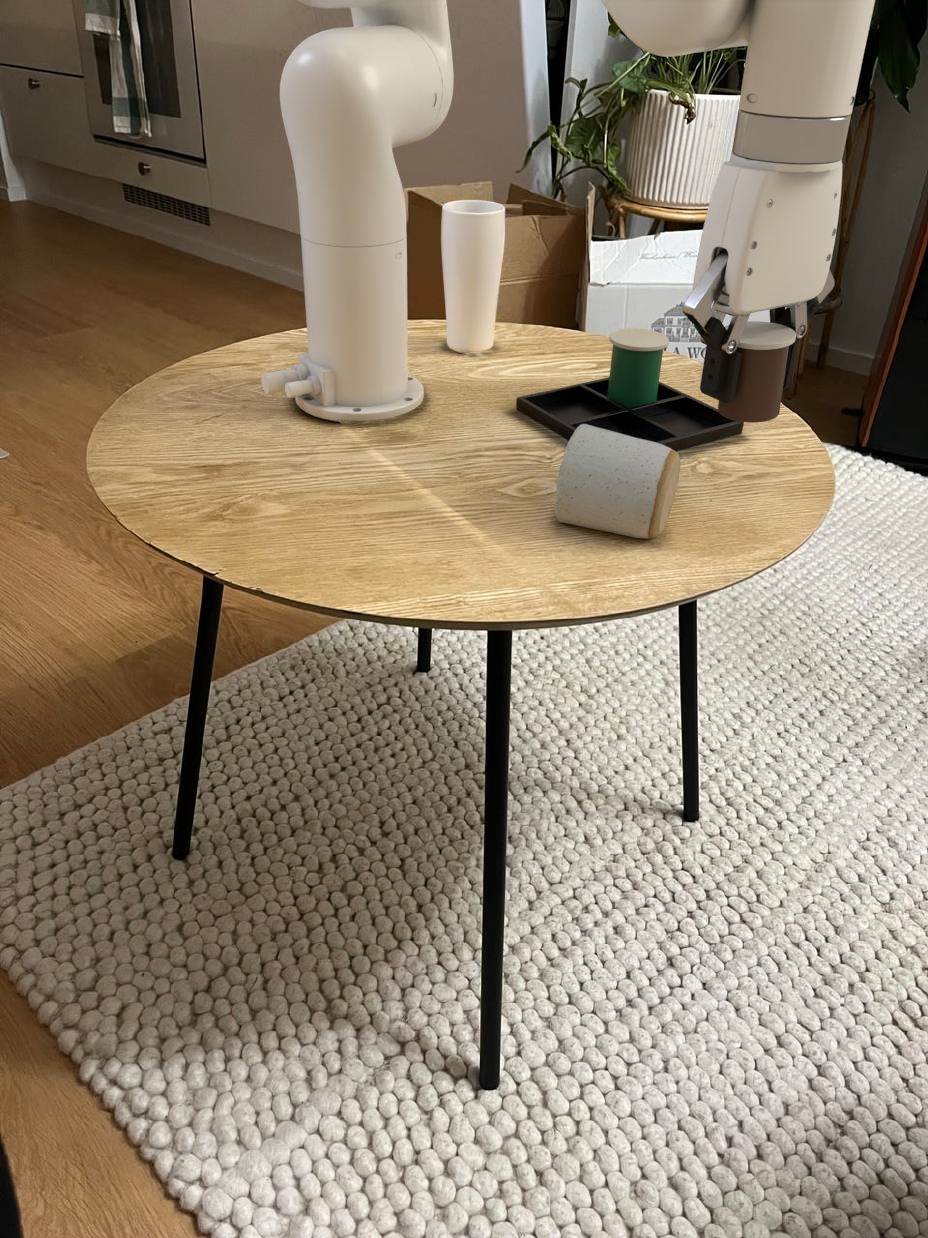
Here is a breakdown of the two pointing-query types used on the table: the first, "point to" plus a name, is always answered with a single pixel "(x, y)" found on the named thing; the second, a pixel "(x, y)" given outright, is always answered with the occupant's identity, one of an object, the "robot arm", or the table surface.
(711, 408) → the tray
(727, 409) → the cylinder
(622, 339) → the cylinder
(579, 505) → the ceramic mug
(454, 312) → the drinking glass
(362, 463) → the table surface
